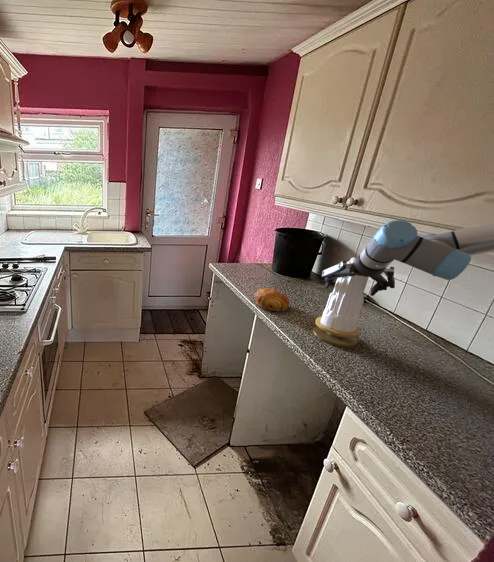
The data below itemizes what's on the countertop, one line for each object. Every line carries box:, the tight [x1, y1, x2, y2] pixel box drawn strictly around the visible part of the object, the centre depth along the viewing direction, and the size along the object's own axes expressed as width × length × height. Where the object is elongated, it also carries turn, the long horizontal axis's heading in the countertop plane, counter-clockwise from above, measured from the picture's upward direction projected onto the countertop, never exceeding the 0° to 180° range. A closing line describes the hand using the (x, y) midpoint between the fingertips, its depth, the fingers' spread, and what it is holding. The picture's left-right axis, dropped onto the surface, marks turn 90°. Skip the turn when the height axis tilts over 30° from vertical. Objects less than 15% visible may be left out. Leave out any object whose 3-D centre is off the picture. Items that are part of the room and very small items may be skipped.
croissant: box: [254, 287, 291, 312], centre depth 140 cm, size 14×16×8 cm
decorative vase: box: [321, 256, 370, 333], centre depth 110 cm, size 11×11×25 cm
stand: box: [312, 315, 362, 348], centre depth 116 cm, size 14×14×5 cm
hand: (348, 288), depth 111 cm, fingers open, 13 cm apart
